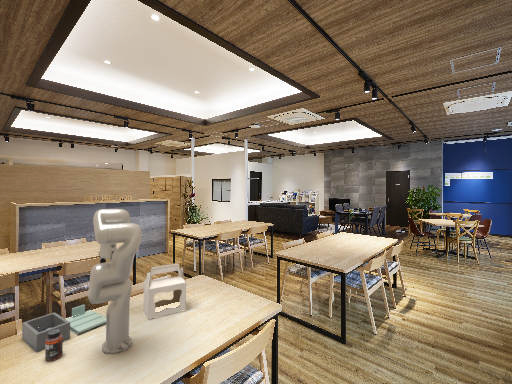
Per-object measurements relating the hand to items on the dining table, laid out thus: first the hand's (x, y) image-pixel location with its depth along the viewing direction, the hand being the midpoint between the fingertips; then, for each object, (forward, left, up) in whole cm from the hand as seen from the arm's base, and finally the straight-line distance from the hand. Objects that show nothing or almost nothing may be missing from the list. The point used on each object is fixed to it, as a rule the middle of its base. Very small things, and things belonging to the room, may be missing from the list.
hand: (107, 268), depth 147 cm
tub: (+2, +28, -28) cm, 39 cm away
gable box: (-20, -24, -28) cm, 42 cm away
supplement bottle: (-17, +31, -28) cm, 45 cm away
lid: (+2, +10, -28) cm, 30 cm away
